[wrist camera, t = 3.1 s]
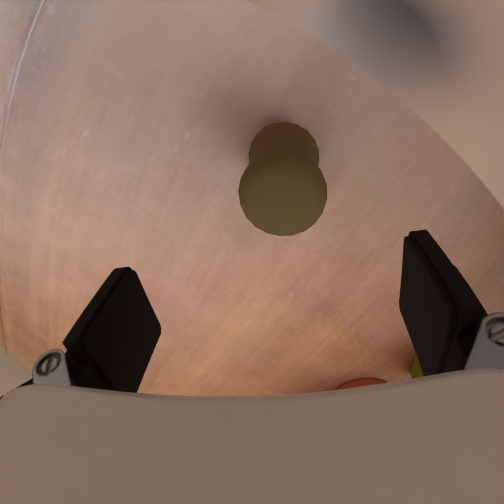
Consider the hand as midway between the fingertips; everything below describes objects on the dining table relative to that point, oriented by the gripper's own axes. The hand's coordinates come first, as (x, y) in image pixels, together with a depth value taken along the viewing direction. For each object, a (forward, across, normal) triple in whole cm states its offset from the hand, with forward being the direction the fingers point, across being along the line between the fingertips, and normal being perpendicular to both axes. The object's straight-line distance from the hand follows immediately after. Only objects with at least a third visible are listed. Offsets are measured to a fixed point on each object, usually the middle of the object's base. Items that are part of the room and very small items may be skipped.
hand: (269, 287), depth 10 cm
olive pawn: (+19, 0, 0) cm, 19 cm away
